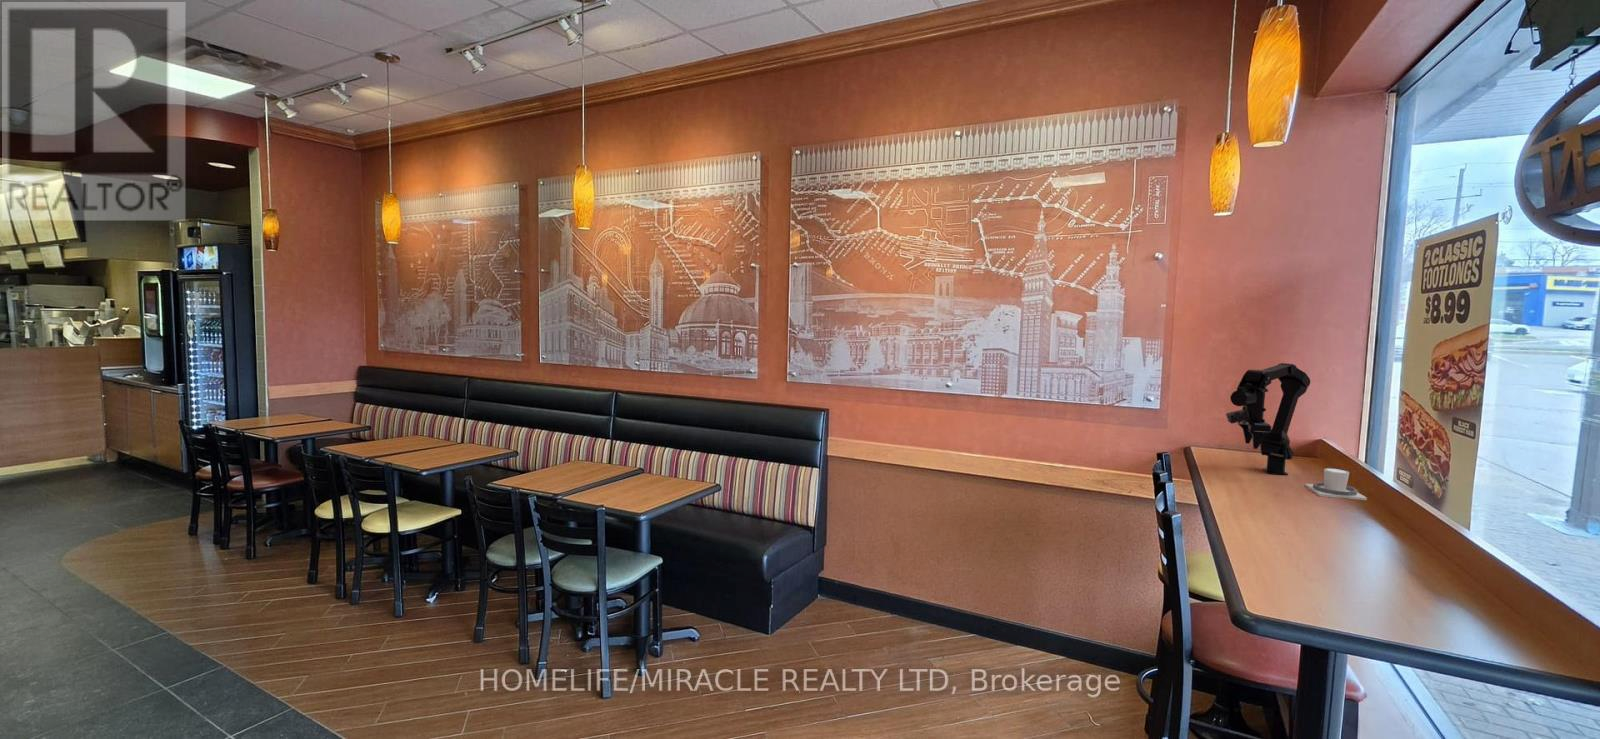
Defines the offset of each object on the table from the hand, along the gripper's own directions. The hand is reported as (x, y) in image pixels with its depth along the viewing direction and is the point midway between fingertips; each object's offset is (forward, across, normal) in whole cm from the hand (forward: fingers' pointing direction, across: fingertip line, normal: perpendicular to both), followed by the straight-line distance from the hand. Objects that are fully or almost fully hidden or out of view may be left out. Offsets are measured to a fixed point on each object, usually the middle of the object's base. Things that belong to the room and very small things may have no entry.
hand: (1251, 446), depth 243 cm
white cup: (+11, +12, +22) cm, 28 cm away
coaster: (+12, +12, +22) cm, 28 cm away
